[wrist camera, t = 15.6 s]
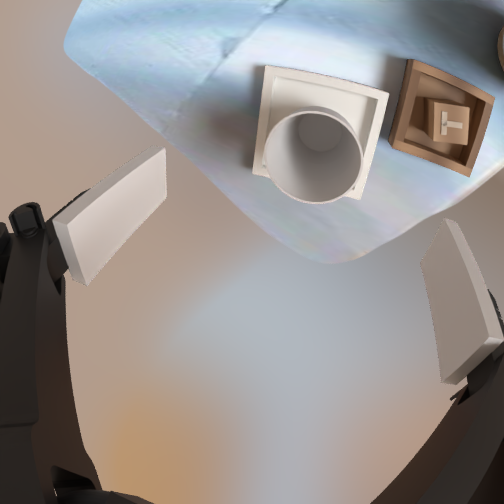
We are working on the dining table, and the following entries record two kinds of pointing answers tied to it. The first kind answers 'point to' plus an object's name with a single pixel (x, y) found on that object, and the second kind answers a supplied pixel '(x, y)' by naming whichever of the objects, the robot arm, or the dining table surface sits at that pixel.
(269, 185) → the dining table surface
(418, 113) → the brown wooden tray
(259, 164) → the tray
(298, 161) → the cup
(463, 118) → the letter cube
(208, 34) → the dining table surface
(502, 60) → the vase
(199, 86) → the dining table surface
